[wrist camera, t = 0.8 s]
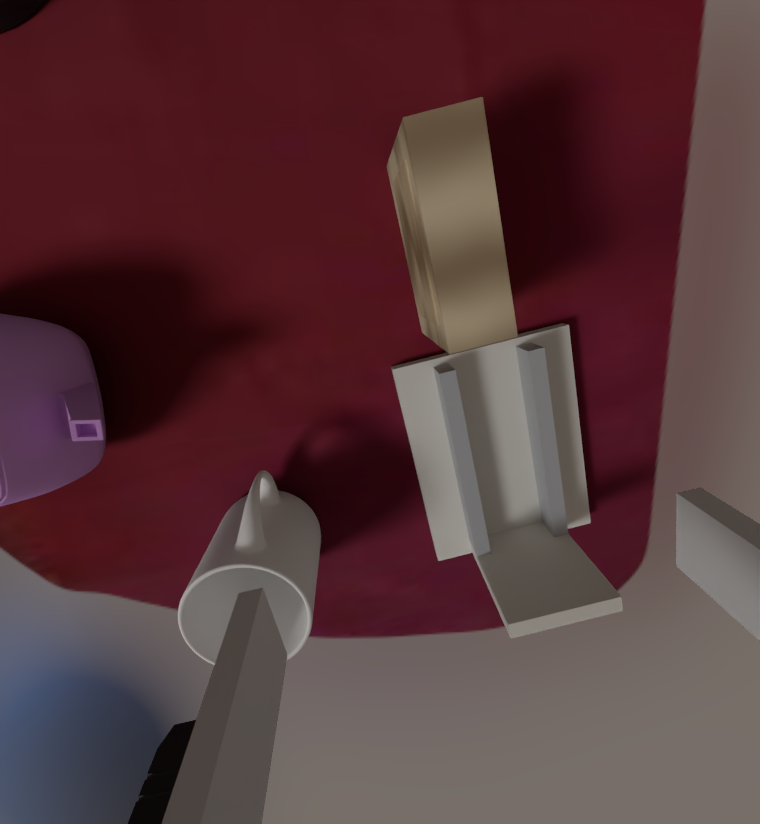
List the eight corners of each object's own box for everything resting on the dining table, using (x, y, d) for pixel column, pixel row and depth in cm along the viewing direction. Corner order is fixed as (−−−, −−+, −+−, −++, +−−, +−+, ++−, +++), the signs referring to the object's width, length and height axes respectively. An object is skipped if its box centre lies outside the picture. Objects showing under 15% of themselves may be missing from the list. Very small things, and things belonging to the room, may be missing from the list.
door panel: (385, 166, 31) (401, 117, 22) (443, 151, 31) (484, 96, 22) (420, 333, 35) (448, 354, 25) (472, 319, 35) (519, 336, 25)
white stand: (391, 366, 35) (409, 406, 25) (561, 323, 35) (654, 344, 24) (436, 553, 41) (466, 652, 30) (583, 516, 41) (667, 602, 30)
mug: (323, 450, 37) (314, 517, 27) (320, 572, 40) (311, 671, 30) (218, 447, 36) (167, 514, 26) (225, 571, 40) (182, 673, 30)
